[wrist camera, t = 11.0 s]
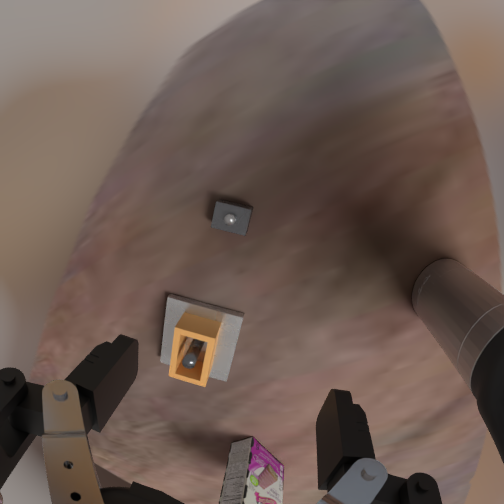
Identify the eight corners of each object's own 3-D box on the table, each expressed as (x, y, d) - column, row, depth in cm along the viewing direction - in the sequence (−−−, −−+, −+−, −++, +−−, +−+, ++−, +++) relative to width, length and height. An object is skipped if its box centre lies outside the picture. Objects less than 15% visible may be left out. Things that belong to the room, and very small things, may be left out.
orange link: (221, 322, 40) (215, 338, 36) (211, 369, 42) (205, 386, 38) (184, 312, 40) (174, 327, 36) (177, 359, 42) (168, 376, 38)
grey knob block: (253, 207, 36) (250, 211, 34) (247, 231, 37) (244, 237, 35) (219, 199, 37) (214, 202, 34) (214, 223, 37) (209, 228, 35)
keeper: (244, 313, 40) (237, 338, 34) (227, 376, 44) (220, 404, 38) (170, 293, 41) (153, 314, 35) (162, 357, 44) (148, 382, 38)
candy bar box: (286, 465, 49) (282, 536, 33) (263, 471, 50) (255, 540, 35) (253, 434, 47) (242, 514, 31) (229, 441, 48) (213, 517, 33)
